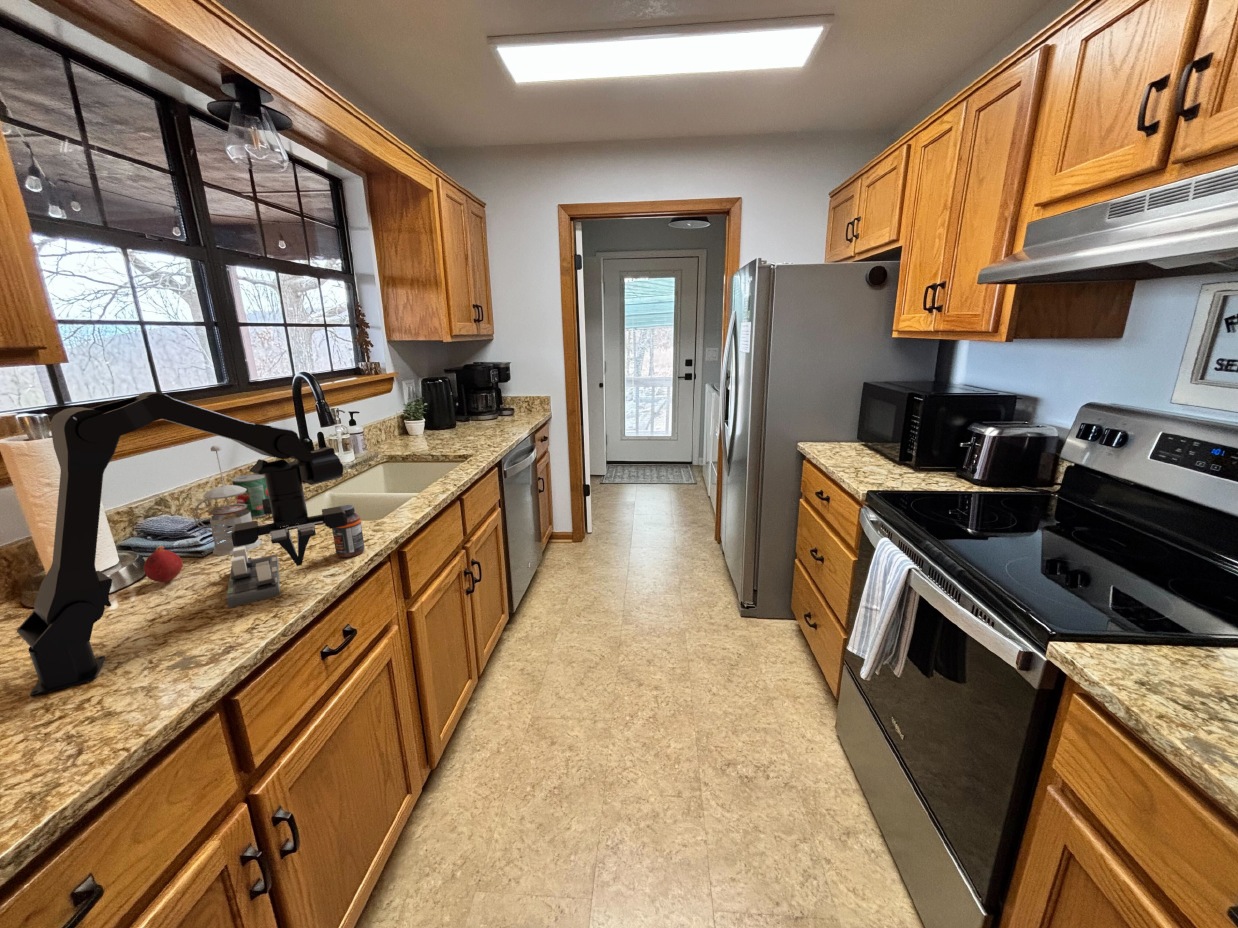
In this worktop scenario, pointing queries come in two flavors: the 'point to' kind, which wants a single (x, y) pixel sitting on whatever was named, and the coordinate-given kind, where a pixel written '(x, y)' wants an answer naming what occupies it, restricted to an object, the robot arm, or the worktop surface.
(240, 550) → the far breaker handle
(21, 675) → the worktop surface
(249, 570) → the handle
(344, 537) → the supplement bottle
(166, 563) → the onion
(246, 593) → the breaker panel
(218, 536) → the french press
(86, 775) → the worktop surface
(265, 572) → the breaker handle
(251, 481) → the canned tomato
